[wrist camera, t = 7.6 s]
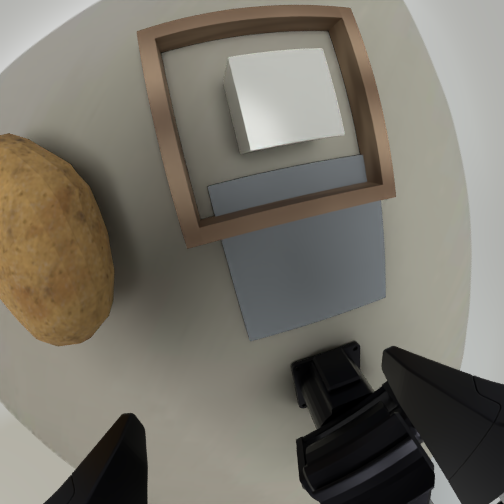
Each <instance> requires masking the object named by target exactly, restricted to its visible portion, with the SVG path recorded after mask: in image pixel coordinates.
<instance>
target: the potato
mask: <svg viewBox="0 0 504 504" xmlns="http://www.w3.org/2000/svg"><path fill="white" fill-rule="evenodd" d="M113 290H114V266H113V260H112V255H111V249H110V243H109V236H108V231H107V229H106V226H105V224H104V221H103V218H102V215H101V212H100V210H99V207H98V205H97V203H96V200H95V198H94V196H93V193H92V191H91V189H90V186H89V185H88V184H87V183H86V182H85V181H84V180H83V179H82V178H81V177H80V176H79V175H78V174H77V173H76V171H75V170H74V168H73V167H72V165H71V164H69V163H68V162H66V161H64V160H63V159H61V158H59V157H58V156H56V155H54V154H53V153H51V152H49V151H48V150H46V149H44V148H42V147H41V146H39V145H37V144H36V143H34V142H32V141H30V140H29V139H26V138H23V137H19V136H16V135H13V134H9V133H8V134H4V135H0V299H1V300H2V302H3V303H4V304H5V305H6V307H7V308H8V309H9V310H10V311H11V313H12V314H13V315H14V316H15V317H16V318H17V320H18V321H19V322H20V323H21V324H22V325H23V326H24V327H25V328H26V329H27V330H28V331H29V332H30V333H31V334H32V335H33V336H34V337H35V338H36V339H38V340H40V341H43V342H46V343H49V344H52V345H55V346H64V345H71V344H78V343H82V342H84V341H86V340H88V339H89V338H91V337H92V336H93V334H94V333H95V332H96V331H97V329H98V328H99V327H100V326H101V324H102V323H103V322H104V321H105V320H106V318H107V317H108V316H109V313H110V310H111V306H112V303H113Z"/></svg>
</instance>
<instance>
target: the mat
mask: <svg viewBox="0 0 504 504" xmlns="http://www.w3.org/2000/svg"><path fill="white" fill-rule="evenodd" d="M363 182H367V177H366V170H365V164H364V158H363V155H354V156H348V157H342V158H336V159H330V160H324V161H318V162H313V163H308V164H302V165H297V166H292V167H287V168H282V169H278V170H273V171H268V172H264V173H259V174H255V175H251V176H246V177H242V178H238V179H234V180H230V181H226V182H222V183H218V184H214V185H210V186H208V190H209V194H210V198H211V202H212V206H213V210H214V214H215V217H216V216H220V215H224V214H228V213H232V212H236V211H239V210H243V209H247V208H251V207H255V206H260V205H264V204H268V203H272V202H276V201H280V200H285V199H289V198H293V197H298V196H302V195H307V194H311V193H316V192H320V191H325V190H329V189H334V188H339V187H344V186H349V185H353V184H358V183H363ZM222 244H223V247H224V251H225V255H226V258H227V262H228V266H229V269H230V273H231V277H232V280H233V284H234V287H235V291H236V294H237V298H238V301H239V305H240V308H241V312H242V315H243V319H244V322H245V326H246V329H247V332H248V336H249V339H250V341H253V340H257V339H261V338H264V337H268V336H272V335H275V334H279V333H282V332H285V331H289V330H292V329H295V328H299V327H302V326H305V325H308V324H312V323H315V322H318V321H321V320H324V319H327V318H330V317H333V316H336V315H339V314H342V313H345V312H347V311H350V310H353V309H356V308H359V307H361V306H364V305H367V304H369V303H372V302H375V301H377V300H380V299H383V298H385V297H386V278H385V248H384V231H383V219H382V208H381V200H380V201H376V202H371V203H367V204H363V205H358V206H354V207H350V208H346V209H342V210H337V211H333V212H329V213H325V214H321V215H317V216H313V217H309V218H304V219H300V220H296V221H292V222H288V223H284V224H280V225H276V226H272V227H269V228H265V229H261V230H257V231H253V232H249V233H245V234H241V235H237V236H234V237H230V238H226V239H222Z"/></svg>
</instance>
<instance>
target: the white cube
mask: <svg viewBox="0 0 504 504" xmlns="http://www.w3.org/2000/svg"><path fill="white" fill-rule="evenodd" d="M223 85H224V89H225V93H226V98H227V102H228V106H229V110H230V114H231V118H232V122H233V126H234V131H235V135H236V139H237V143H238V147H239V152H240V154H244V153H249V152H254V151H258V150H263V149H268V148H273V147H278V146H283V145H289V144H294V143H300V142H306V141H312V140H317V139H323V138H329V137H335V136H341V135H345V132H344V128H343V123H342V119H341V114H340V110H339V106H338V102H337V98H336V94H335V90H334V86H333V82H332V79H331V75H330V71H329V68H328V65H327V61H326V58H325V55H324V51H323V48H311V49H291V50H279V51H269V52H260V53H252V54H245V55H239V56H233V57H228V59H227V65H226V70H225V76H224V81H223Z"/></svg>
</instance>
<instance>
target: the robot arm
mask: <svg viewBox="0 0 504 504" xmlns="http://www.w3.org/2000/svg"><path fill="white" fill-rule="evenodd" d="M354 347H355V348H354ZM296 367H298V368H296ZM291 369H292V374H293V379H294V384H295V389H296V394H297V399H298V404H299V407H300V408H306V407H308V409H309V412H310V414H311V417H312V419H313V421H314V424H315V426H316V429H317V430H315V431H313V432H311V433H309V434H308V435H306V436H304V437H300V438H298V439H296V444H297V458H298V469H299V479H300V482H301V483H302V487H303V489H305V490H306V491H307V492H308V493H309V495H310V496H311V497H312V498H314V499H315V500H317V501H319V502H320V504H433V502H432V501H431V499H430V496H431V490H432V489H433V488H434V483H435V474H434V465H433V463H432V461H431V460H430V458H429V457H428V455H427V454H426V452H425V451H424V449H423V448H422V446H421V445H420V444H421V443H422V442H424V443H425V444H426V446H427V447H428V449H429V451H430V452H431V454H432V455H433V457H434V458H435V460H436V462H437V463H438V465H439V467H440V468H441V470H442V471H443V473H444V475H445V476H446V478H447V480H449V483H450V485H451V487H452V488H453V490H454V492H455V493H456V495H457V497H458V499H459V500H460V502H461V504H489V503H491V502H492V501H493V500H495V499H496V498H498V497H499V498H500V499H501V500H500V501H499V502H498V503H497V504H504V384H500V383H496V382H492V381H489V380H486V379H482V378H480V377H477V376H472V375H471V374H468V373H465V372H462V371H460V370H457V369H454V368H451V367H449V366H446V365H443V364H441V363H438V362H435V361H432V360H430V359H427V358H425V357H422V356H419V355H417V354H414V353H411V352H409V351H406V350H404V349H401V348H398V347H396V346H391V347H389V348H387V349H385V350H384V351H383V357H382V370H383V373H384V375H385V377H386V379H387V381H386V382H385V383H384V384H382V387H380V388H379V389H378V390H376V391H374V390H373V389H372V387H371V386H370V384H369V383H368V381H367V380H366V378H365V377H364V375H363V374H362V372H361V371H360V345H359V344H358V343H357V342H353V343H350V344H347V345H345V346H342V347H339V348H337V349H334V350H331V351H328V352H325V353H322V354H319V355H316V356H313V357H310V358H307V359H304V360H301V361H298V362H295V363H293V364H292V366H291ZM147 481H148V463H147V450H146V436H145V428H144V426H143V425H142V423H141V422H140V421H139V420H138V418H137V417H136V416H135V415H134V414H133V413H124V414H122V415H121V416H120V417H119V418H118V420H117V421H116V422H115V423H114V424H113V426H112V427H111V428H110V429H109V430H108V432H107V433H106V434H105V435H104V436H103V437H102V439H101V440H100V441H99V442H98V443H97V445H96V446H95V447H94V448H93V449H92V451H91V452H90V453H89V454H88V455H87V457H86V458H85V459H84V460H83V461H82V462H81V464H80V465H79V466H78V467H77V468H76V470H75V471H74V472H73V473H72V475H71V476H70V477H69V478H68V479H67V480H66V481H65V482H64V484H63V485H62V486H61V487H60V488H59V489H58V490H57V491H56V492H55V493H54V494H53V495H52V496H51V497H50V498H49V499H48V500H47V501H46V502H45V503H43V504H147Z"/></svg>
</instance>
